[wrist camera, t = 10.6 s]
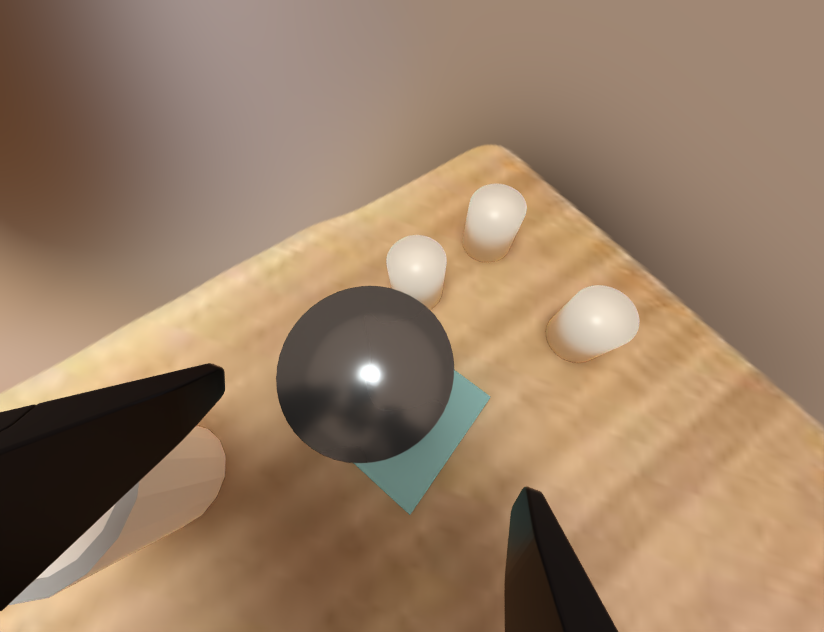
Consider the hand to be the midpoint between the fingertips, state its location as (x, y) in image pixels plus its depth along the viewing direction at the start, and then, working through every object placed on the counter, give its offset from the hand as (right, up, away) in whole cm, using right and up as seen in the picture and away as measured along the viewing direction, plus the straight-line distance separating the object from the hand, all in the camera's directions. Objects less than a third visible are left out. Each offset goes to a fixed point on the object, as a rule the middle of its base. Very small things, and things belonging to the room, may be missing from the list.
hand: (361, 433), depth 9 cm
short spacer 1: (+2, +5, +14) cm, 15 cm away
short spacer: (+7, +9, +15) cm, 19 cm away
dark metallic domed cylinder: (+1, -3, +11) cm, 11 cm away
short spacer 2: (+12, +2, +12) cm, 17 cm away
